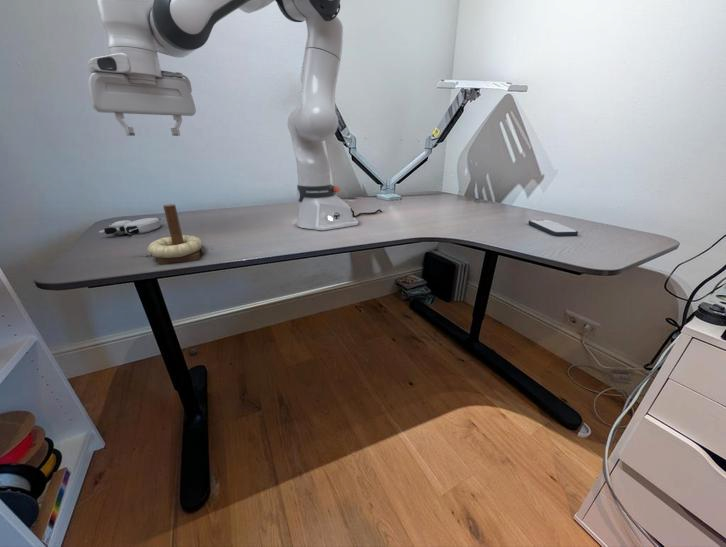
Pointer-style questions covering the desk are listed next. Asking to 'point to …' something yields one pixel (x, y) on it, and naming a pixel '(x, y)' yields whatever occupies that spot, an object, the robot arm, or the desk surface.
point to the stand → (176, 236)
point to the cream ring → (174, 247)
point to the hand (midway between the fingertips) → (154, 135)
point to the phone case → (553, 228)
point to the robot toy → (133, 226)
